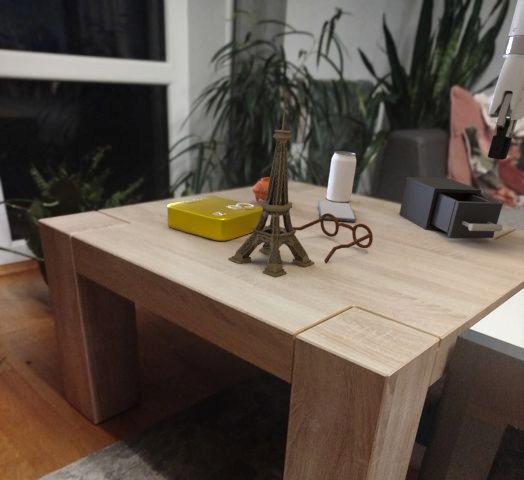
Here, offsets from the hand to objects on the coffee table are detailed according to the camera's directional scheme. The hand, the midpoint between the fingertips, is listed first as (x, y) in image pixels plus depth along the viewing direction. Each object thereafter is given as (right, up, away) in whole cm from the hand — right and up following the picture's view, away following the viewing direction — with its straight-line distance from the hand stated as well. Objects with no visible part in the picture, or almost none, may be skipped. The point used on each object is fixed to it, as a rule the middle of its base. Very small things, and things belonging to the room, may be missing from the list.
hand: (496, 158), depth 99 cm
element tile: (-56, -13, +4) cm, 57 cm away
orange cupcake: (-45, -1, +27) cm, 53 cm away
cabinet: (-5, -7, +23) cm, 24 cm away
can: (-26, +3, +37) cm, 45 cm away
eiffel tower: (-45, -23, -12) cm, 52 cm away
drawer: (-2, -12, +12) cm, 17 cm away
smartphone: (-28, -5, +23) cm, 37 cm away
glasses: (-34, -18, -3) cm, 39 cm away
